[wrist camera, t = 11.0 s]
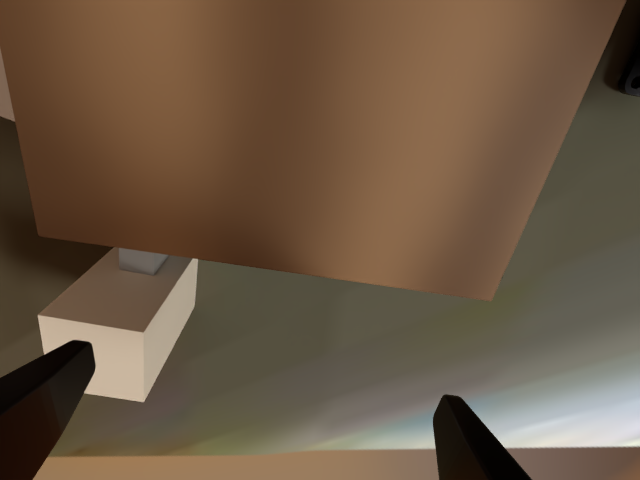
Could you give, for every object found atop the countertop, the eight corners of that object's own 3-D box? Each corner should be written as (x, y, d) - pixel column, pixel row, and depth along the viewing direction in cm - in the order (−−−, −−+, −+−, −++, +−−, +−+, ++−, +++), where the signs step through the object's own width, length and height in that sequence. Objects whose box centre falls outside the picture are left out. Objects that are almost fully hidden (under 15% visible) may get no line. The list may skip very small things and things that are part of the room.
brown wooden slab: (515, -85, 14) (740, -254, 6) (425, 205, 19) (491, 301, 12) (144, -162, 13) (-104, -464, 6) (156, 163, 18) (38, 236, 11)
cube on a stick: (216, 4, 15) (141, -35, 9) (194, 306, 22) (143, 402, 16) (119, -20, 15) (-27, -76, 9) (128, 294, 22) (49, 387, 16)
